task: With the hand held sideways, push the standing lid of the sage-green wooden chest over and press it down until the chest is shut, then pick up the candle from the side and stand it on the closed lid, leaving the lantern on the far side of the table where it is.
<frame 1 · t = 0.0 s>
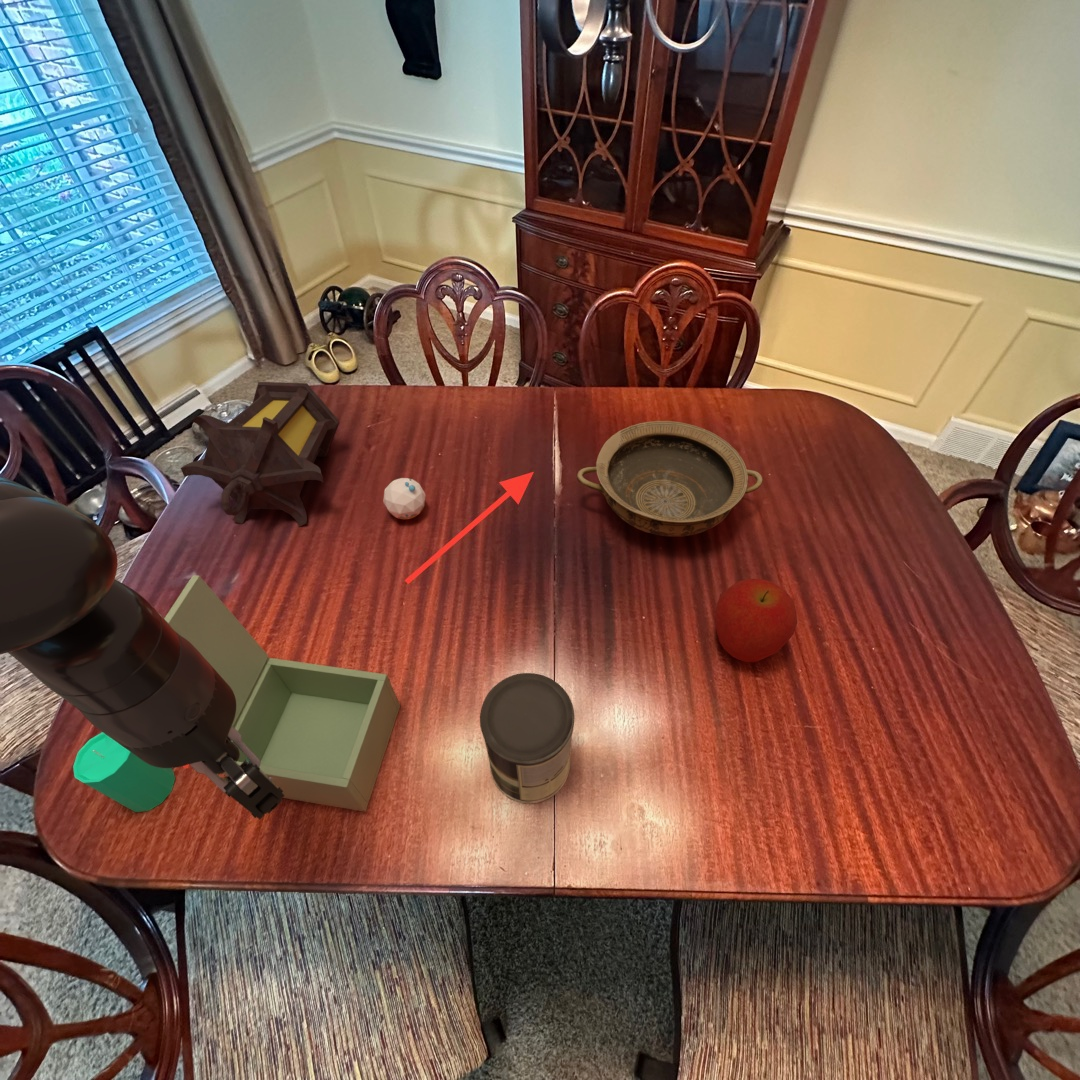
hand: (245, 773, 56), 20 cm above the table, tool pointing down, fingers open, 8 cm apart
lantern: (286, 494, 108), on the table
coffee can: (530, 762, 76), on the table
lid: (203, 672, 65), point 18 cm above the table, hinge at 95.0°
candle: (150, 787, 75), on the table
ornament: (408, 513, 104), on the table
apple: (741, 645, 87), on the table
chest: (325, 746, 78), on the table
ceramic bowl: (662, 510, 104), on the table
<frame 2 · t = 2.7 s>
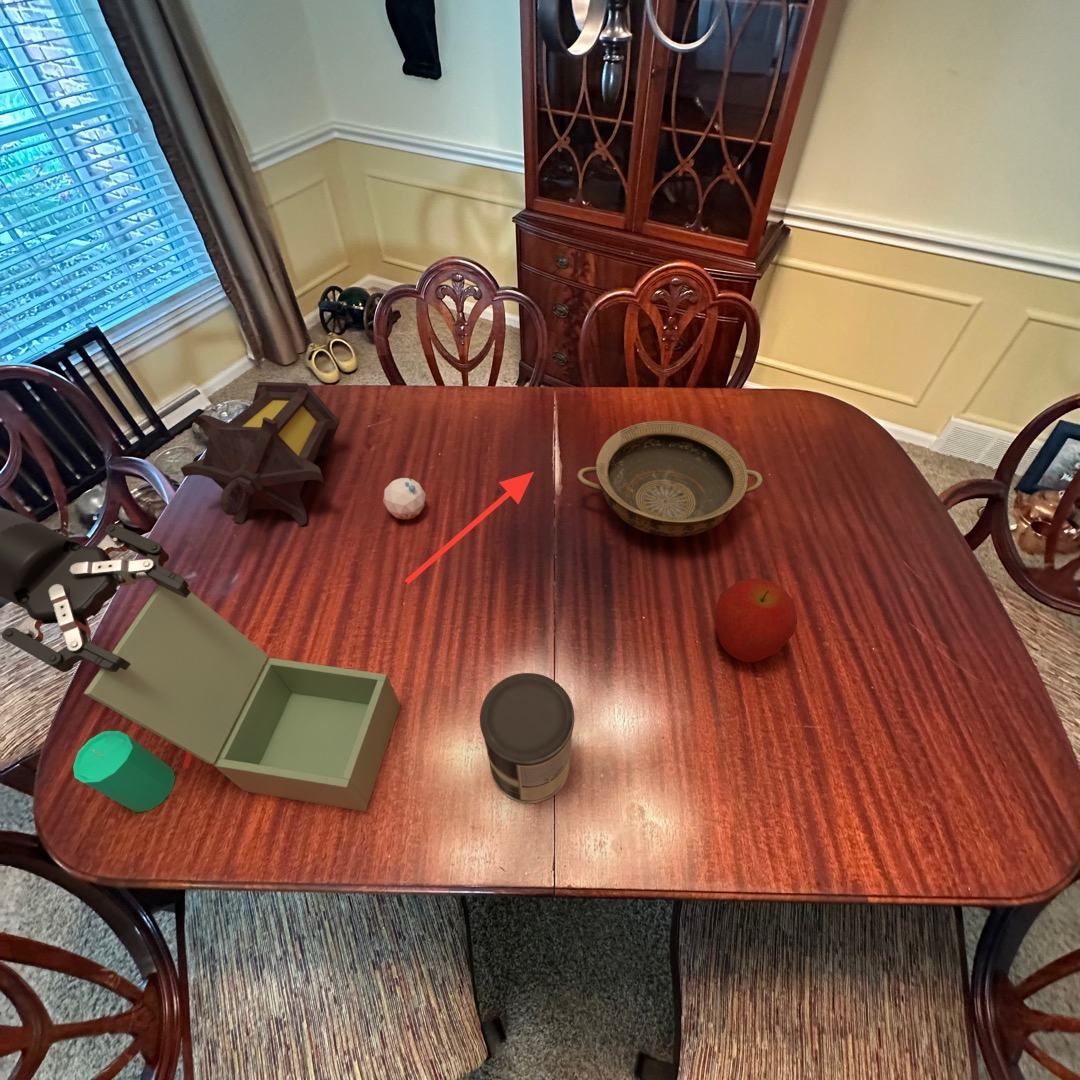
hand: (157, 627, 59), 27 cm above the table, tool horizontal, fingers open, 8 cm apart
lid: (190, 671, 66), point 17 cm above the table, hinge at 107.6°, touching gripper
everything else where it was.
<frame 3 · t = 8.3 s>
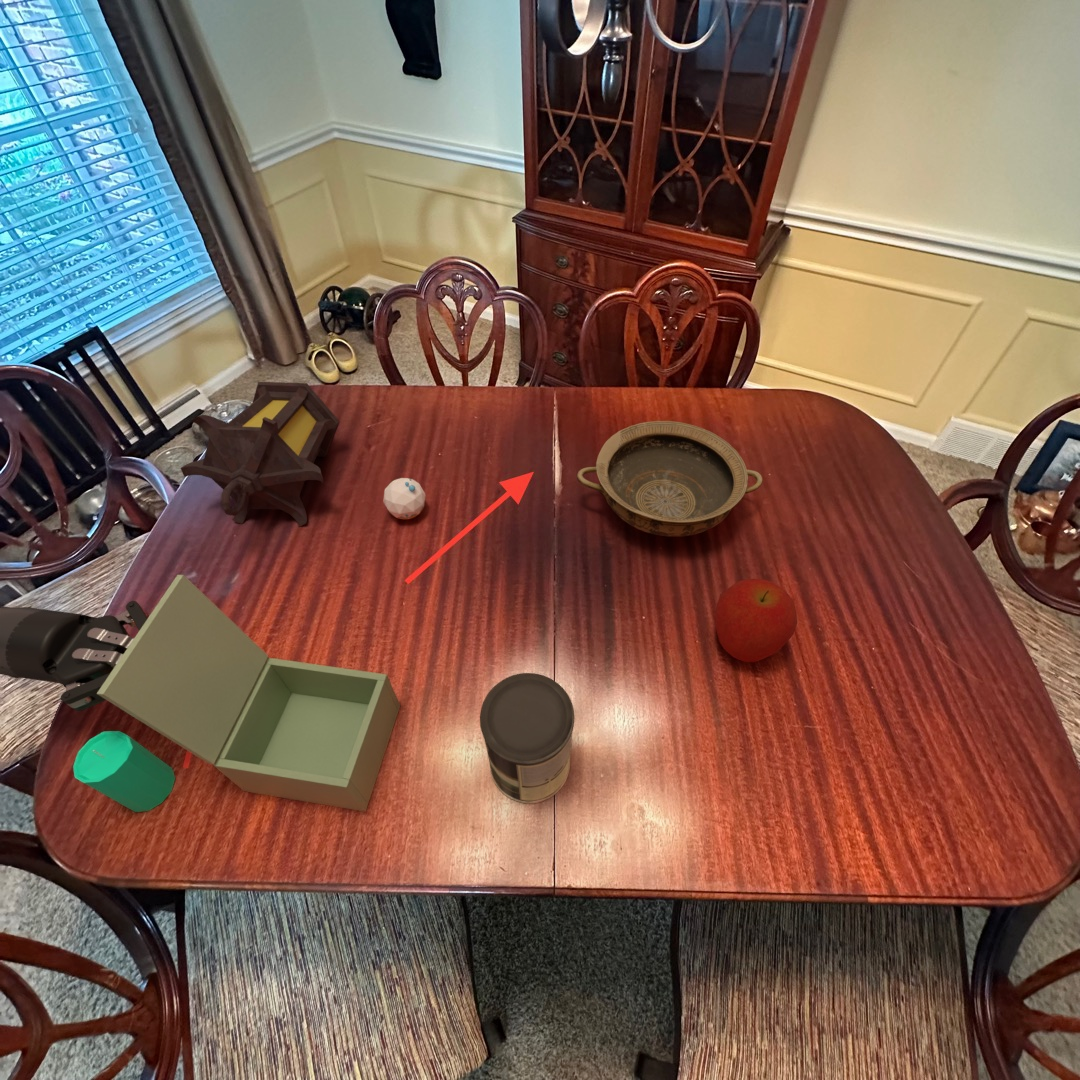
hand: (181, 663, 64), 19 cm above the table, tool horizontal, fingers closed
lid: (196, 671, 65), point 18 cm above the table, hinge at 101.7°, touching gripper
everything else where it was.
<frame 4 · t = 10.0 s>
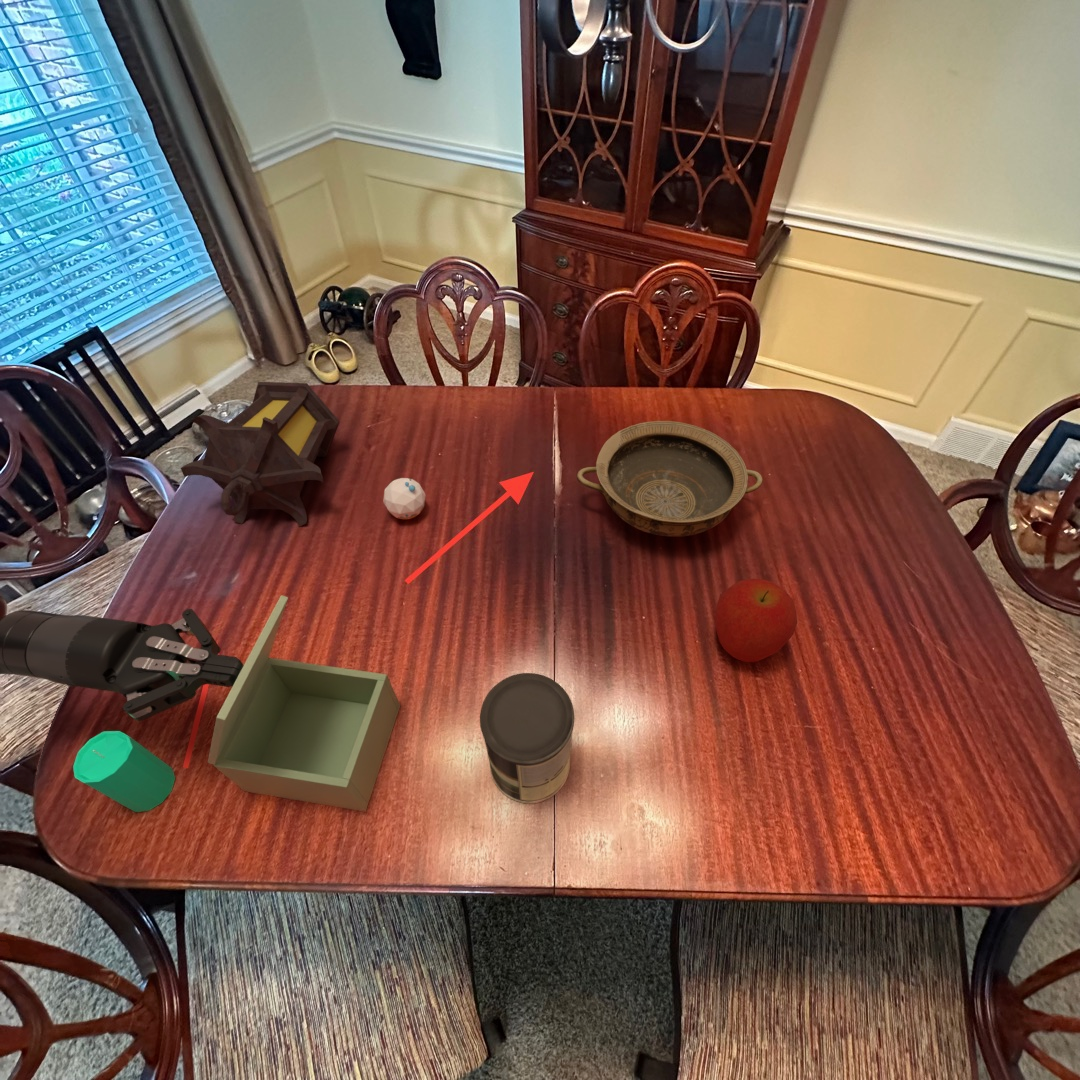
hand: (241, 673, 64), 19 cm above the table, tool horizontal, fingers closed
lid: (247, 682, 65), point 17 cm above the table, hinge at 62.0°, touching gripper
everything else where it was.
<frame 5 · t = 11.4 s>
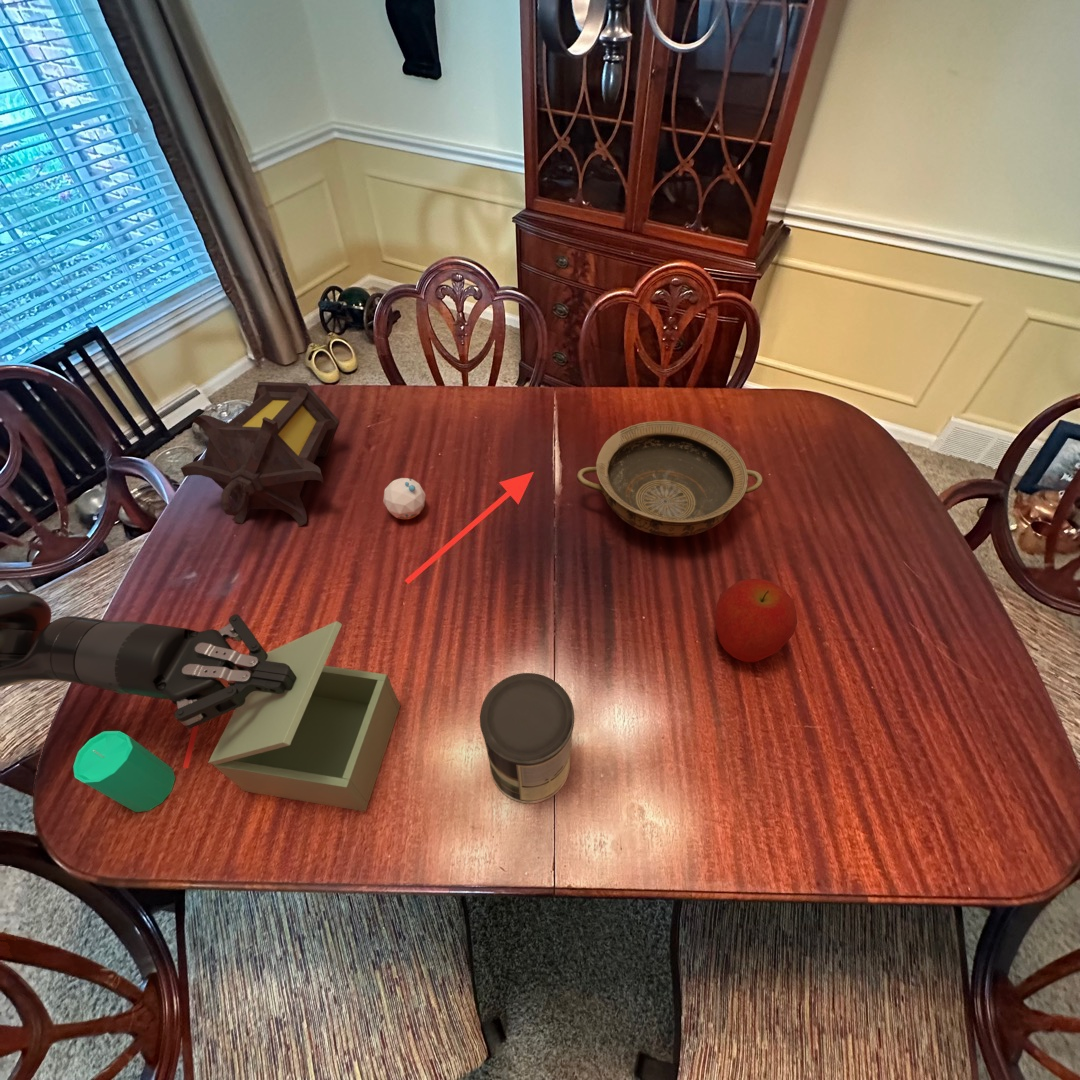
hand: (291, 679, 63), 19 cm above the table, tool horizontal, fingers closed
lid: (274, 693, 67), point 15 cm above the table, hinge at 40.0°
everything else where it was.
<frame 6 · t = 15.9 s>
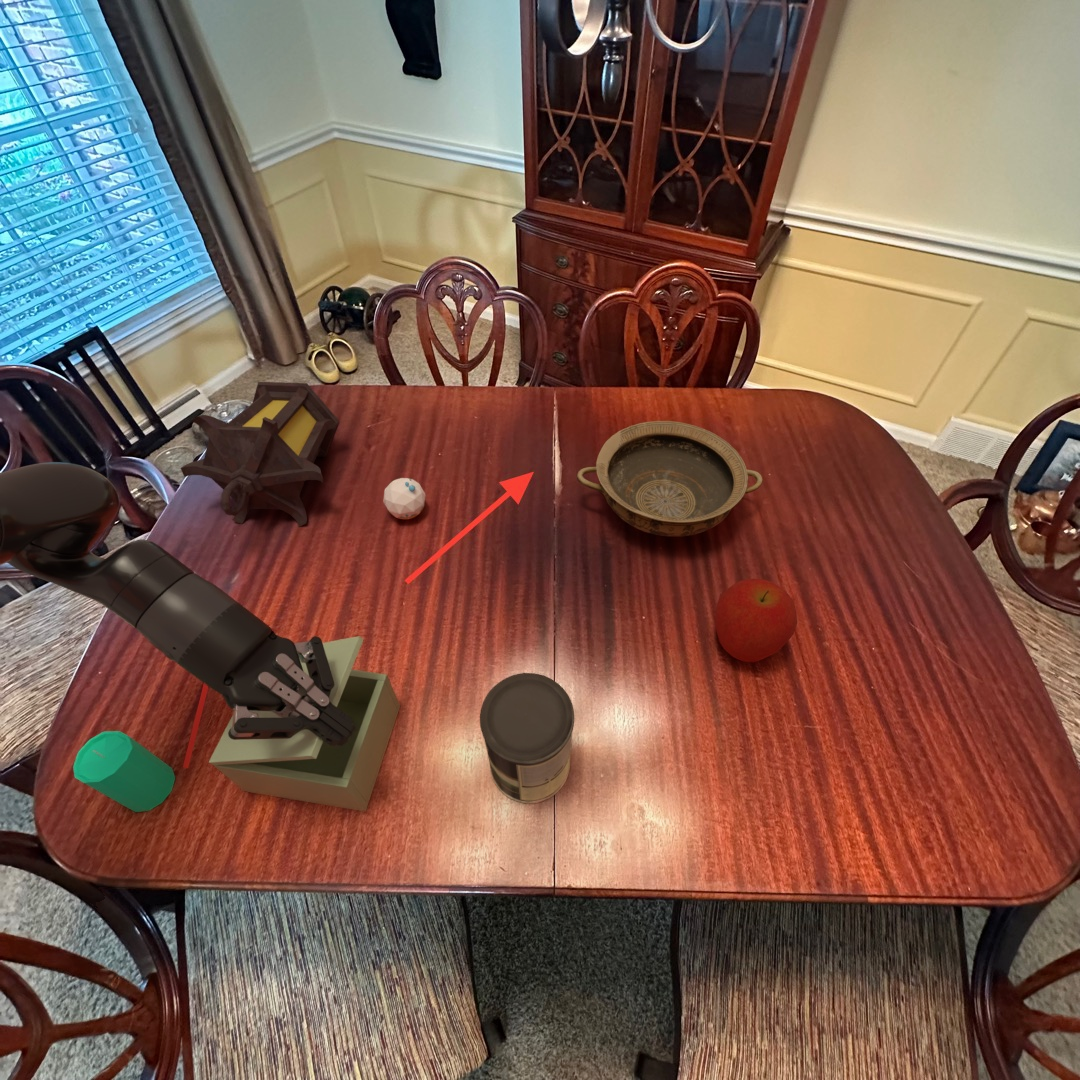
hand: (348, 737, 61), 17 cm above the table, tool tilted 55°, fingers closed
lid: (286, 700, 68), point 13 cm above the table, hinge at 28.6°, touching gripper
everything else where it was.
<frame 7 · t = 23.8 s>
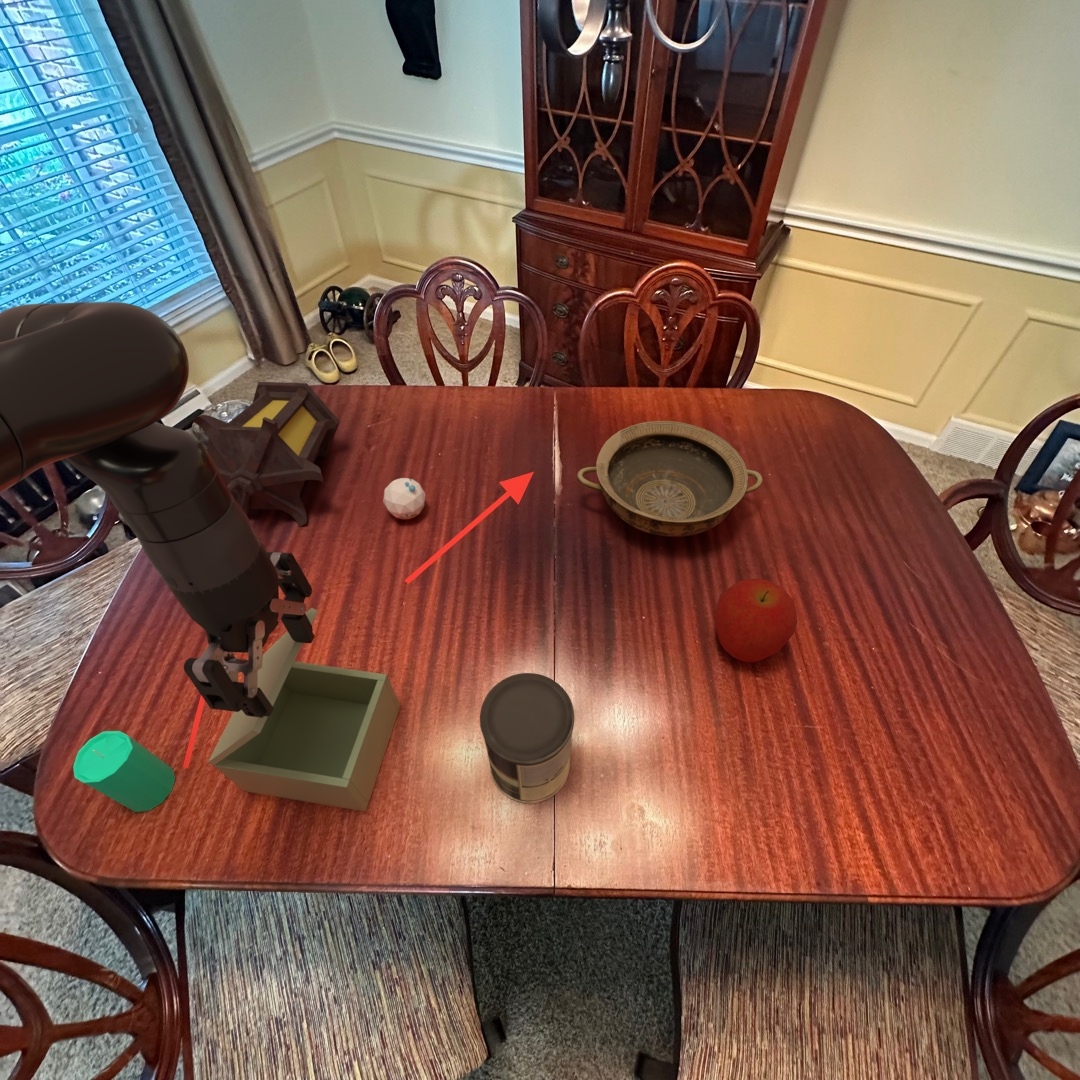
hand: (285, 674, 59), 23 cm above the table, tool pointing down, fingers open, 8 cm apart
lid: (261, 687, 66), point 16 cm above the table, hinge at 50.7°, touching gripper
everything else where it was.
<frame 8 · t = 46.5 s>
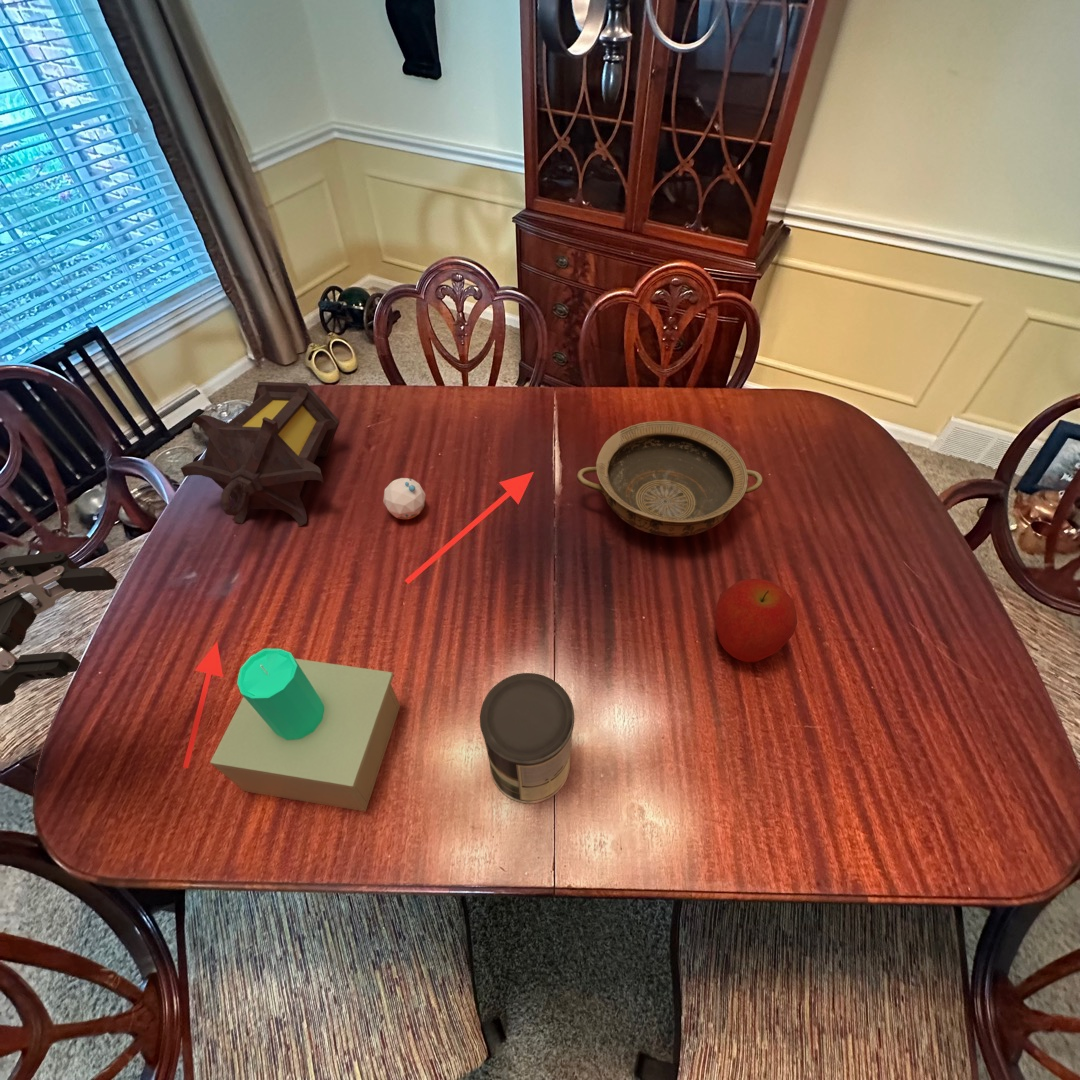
hand: (93, 618, 53), 32 cm above the table, tool horizontal, fingers open, 8 cm apart
lid: (306, 716, 71), point 9 cm above the table, hinge at -0.2°, touching candle, chest
candle: (298, 716, 70), point 10 cm above the table, touching lid
everything else where it was.
at the end: lid at +0° (first picture: +95°); candle inside the target area on the chest (0.4 cm from its centre), point 9.5 cm above the chest's base; lantern moved 0.2 cm from its start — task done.
